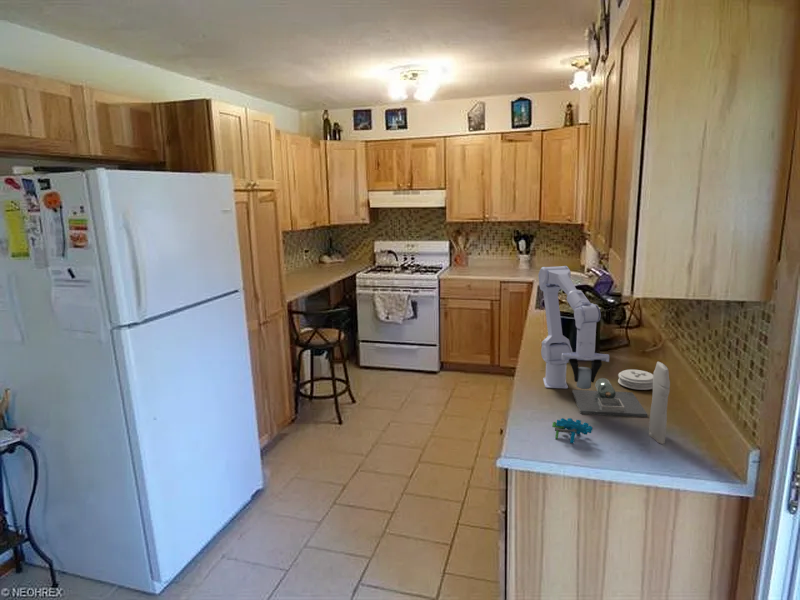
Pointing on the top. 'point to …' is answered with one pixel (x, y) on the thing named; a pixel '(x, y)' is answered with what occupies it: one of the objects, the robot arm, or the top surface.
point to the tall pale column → (659, 403)
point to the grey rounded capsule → (584, 377)
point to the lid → (636, 379)
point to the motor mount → (608, 401)
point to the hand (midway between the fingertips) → (584, 381)
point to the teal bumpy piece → (571, 427)
